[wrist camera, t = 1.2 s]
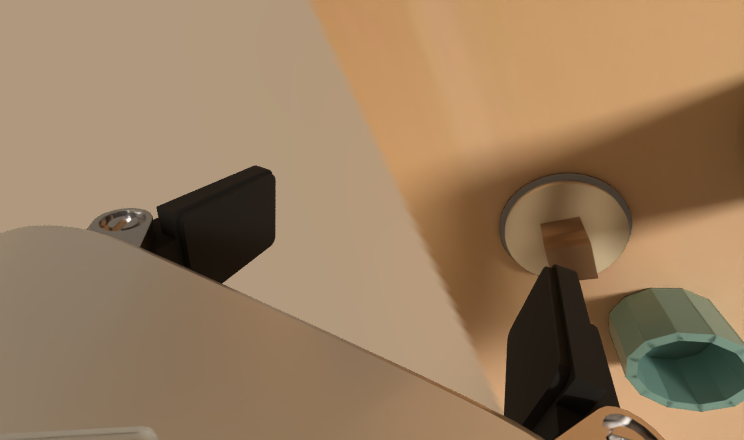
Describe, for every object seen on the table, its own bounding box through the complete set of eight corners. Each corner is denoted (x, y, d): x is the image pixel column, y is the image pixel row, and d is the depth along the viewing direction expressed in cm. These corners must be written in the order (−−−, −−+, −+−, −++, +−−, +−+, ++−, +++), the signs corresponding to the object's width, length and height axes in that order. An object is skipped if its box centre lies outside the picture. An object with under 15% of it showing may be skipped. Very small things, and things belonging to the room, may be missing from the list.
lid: (615, 166, 28) (640, 192, 22) (632, 266, 31) (657, 309, 25) (493, 195, 32) (490, 222, 27) (518, 279, 35) (519, 317, 30)
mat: (660, 201, 28) (662, 203, 28) (584, 291, 34) (585, 294, 33) (533, 155, 30) (533, 156, 30) (482, 247, 36) (481, 250, 35)
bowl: (747, 314, 29) (796, 368, 24) (676, 370, 34) (705, 425, 29) (645, 273, 31) (672, 316, 26) (590, 332, 35) (604, 378, 30)
